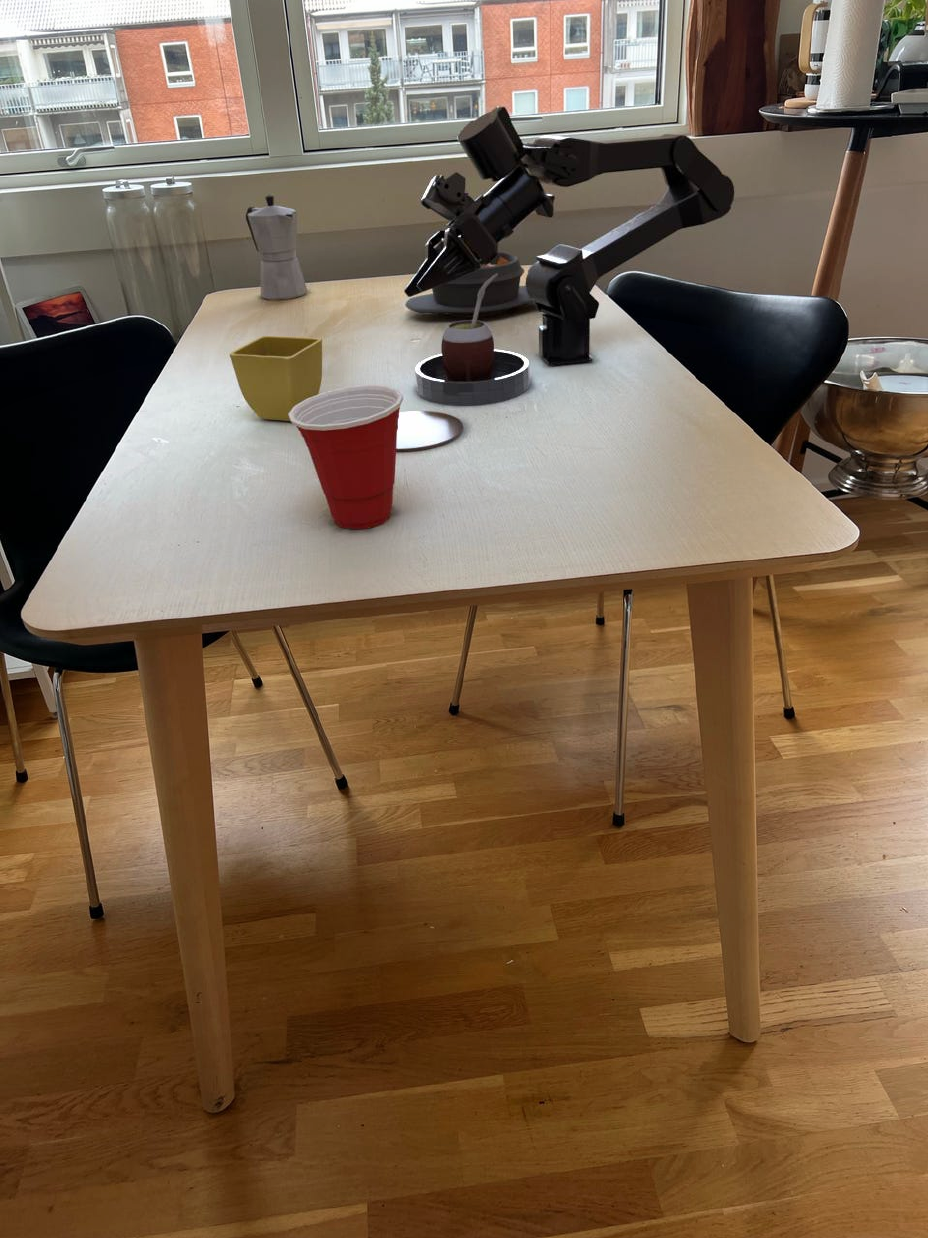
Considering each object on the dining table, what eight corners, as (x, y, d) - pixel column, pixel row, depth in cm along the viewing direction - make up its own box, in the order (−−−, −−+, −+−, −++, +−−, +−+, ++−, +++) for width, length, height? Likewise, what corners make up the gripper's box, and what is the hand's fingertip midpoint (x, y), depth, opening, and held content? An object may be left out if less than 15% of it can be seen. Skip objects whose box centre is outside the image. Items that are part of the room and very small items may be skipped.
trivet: (455, 409, 119) (455, 406, 119) (470, 445, 108) (470, 442, 108) (354, 419, 118) (353, 416, 118) (358, 456, 107) (357, 453, 107)
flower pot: (332, 405, 123) (323, 337, 119) (302, 428, 116) (291, 356, 112) (274, 402, 126) (262, 334, 121) (240, 424, 119) (227, 353, 114)
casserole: (531, 291, 173) (530, 244, 169) (560, 314, 158) (560, 262, 153) (398, 305, 170) (394, 257, 165) (415, 330, 154) (411, 277, 150)
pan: (517, 366, 134) (517, 345, 132) (539, 398, 121) (539, 375, 119) (412, 376, 132) (410, 355, 131) (423, 410, 120) (421, 387, 118)
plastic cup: (308, 500, 97) (291, 387, 91) (412, 491, 98) (401, 378, 92) (302, 546, 88) (281, 424, 82) (416, 536, 88) (404, 414, 82)
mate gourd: (445, 377, 130) (437, 264, 122) (502, 375, 129) (497, 261, 122) (442, 394, 124) (434, 276, 116) (502, 392, 123) (497, 273, 115)
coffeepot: (323, 293, 182) (310, 193, 173) (283, 303, 177) (268, 200, 168) (278, 284, 192) (263, 189, 183) (239, 293, 187) (222, 196, 177)
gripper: (446, 172, 128) (361, 248, 127) (480, 139, 110) (382, 228, 110) (496, 240, 131) (414, 314, 131) (537, 219, 114) (442, 305, 114)
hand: (412, 291), depth 121 cm, fingers open, 9 cm apart
